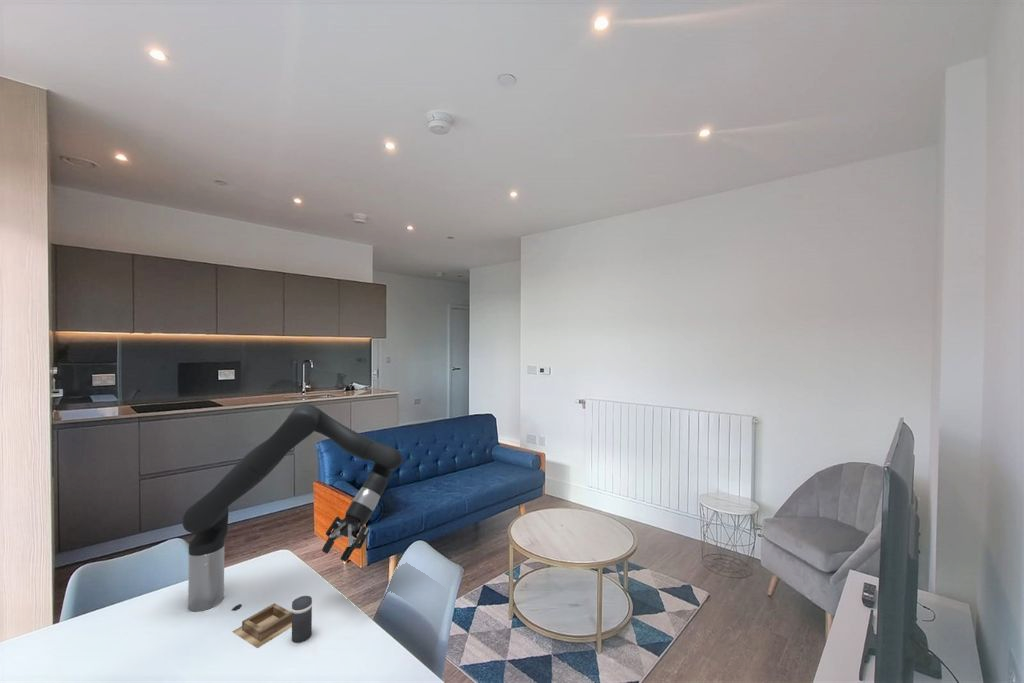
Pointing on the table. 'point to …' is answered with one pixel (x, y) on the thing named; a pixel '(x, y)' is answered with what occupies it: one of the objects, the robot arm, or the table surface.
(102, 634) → the table surface
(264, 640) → the tiered wooden square base
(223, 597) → the robot arm
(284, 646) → the table surface
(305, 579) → the table surface
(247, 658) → the table surface
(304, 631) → the dark grey banded cylinder
